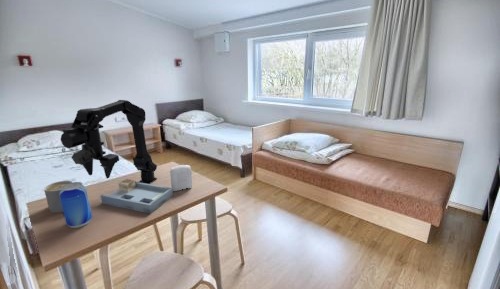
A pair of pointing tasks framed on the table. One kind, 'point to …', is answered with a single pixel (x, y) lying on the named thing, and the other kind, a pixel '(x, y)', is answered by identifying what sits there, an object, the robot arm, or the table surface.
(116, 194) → the box
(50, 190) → the coffee mug
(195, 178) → the table surface
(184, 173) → the photo printer
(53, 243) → the table surface
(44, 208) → the table surface
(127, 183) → the beech block
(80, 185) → the beer can
